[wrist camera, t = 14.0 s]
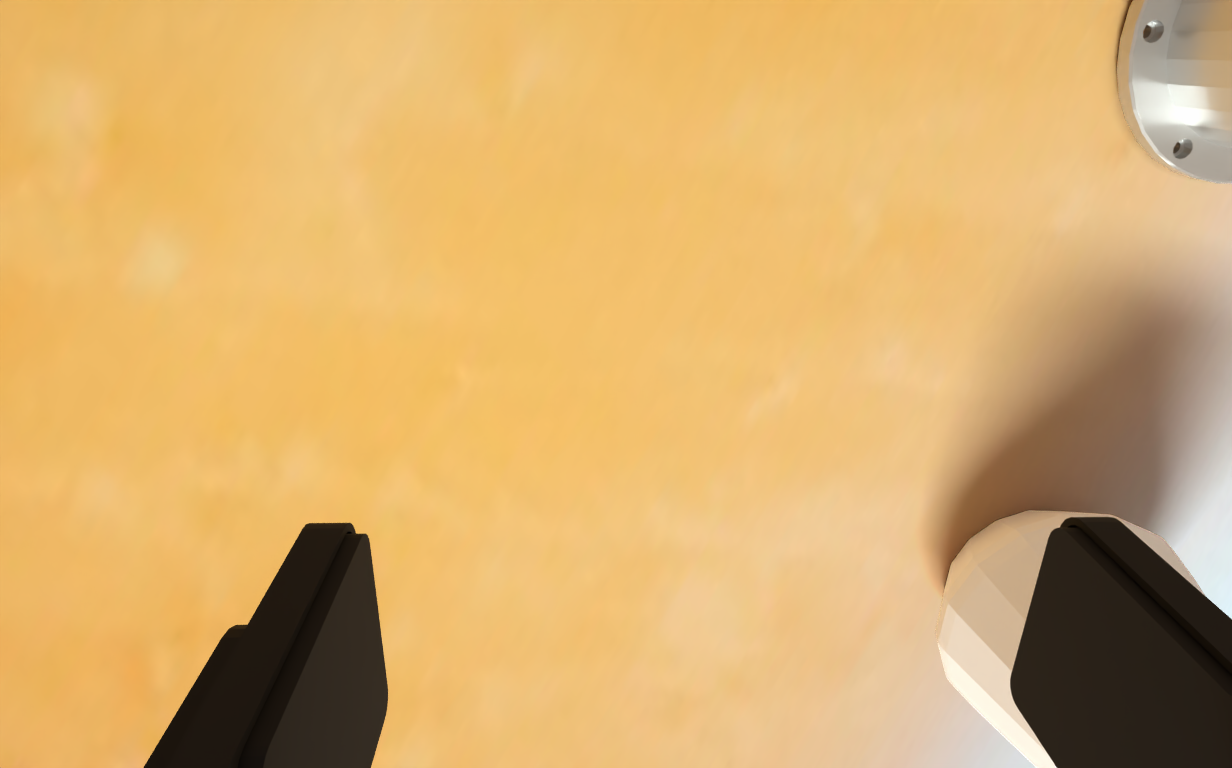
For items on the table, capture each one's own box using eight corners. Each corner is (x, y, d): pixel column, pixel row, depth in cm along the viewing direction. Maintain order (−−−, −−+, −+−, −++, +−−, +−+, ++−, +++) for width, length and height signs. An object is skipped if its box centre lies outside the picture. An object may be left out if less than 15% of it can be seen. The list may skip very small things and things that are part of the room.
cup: (874, 647, 48) (982, 867, 35) (965, 455, 43) (1129, 630, 30) (1073, 682, 50) (1245, 904, 37) (1183, 502, 45) (1425, 686, 32)
